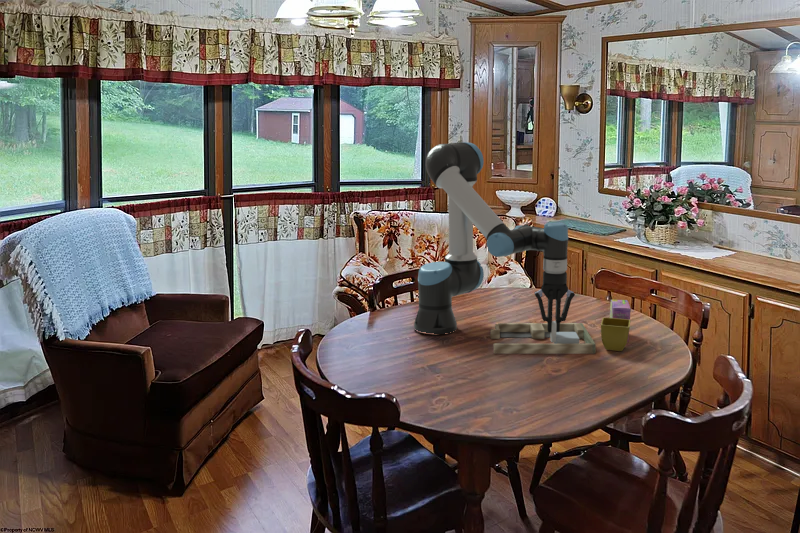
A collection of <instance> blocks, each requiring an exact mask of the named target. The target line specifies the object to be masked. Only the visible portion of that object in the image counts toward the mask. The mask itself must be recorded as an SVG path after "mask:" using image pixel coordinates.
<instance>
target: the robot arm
mask: <svg viewBox="0 0 800 533" xmlns="http://www.w3.org/2000/svg"><path fill="white" fill-rule="evenodd" d="M484 160H485V159H484V156H483V153H482V151H481V149H480V148H479V147H478V146H477V144H474V142H473V143H472V142H467V141H466V142H464V141H461V142H451V143H439V144H437V145H435V146H433V147H432V148H431V149H430V150H429V151H428V153H427V154H426V159H425V170H426V173H427V174H428V177H429V179H430V180H431V181H432V183H433V184H434V185H435V186H436V187H437V188H438V189H442V190H444V192H445V193H446V194H447V196H448V252H447V254H446V255H445V256H444V261H435V262H433V261H432V262H427V263H424V264H423V265H421V266H420V268H419V269H418V276H417V287H418V310H417V314H416V316H415V320H414V324H413V327H414V328H415V329H416V330H418V331H421V332H426V333H434V334H445V333H450V332H453V331H455V330H456V329H458V324H457V320H456V317H455V314H454V311H453V305H452V304H453V303H452V302H453V297H457V296H460V295H464V294H469V293H471V292H473V291H475V290H477V289H479V287H481V285H482V283H483V281H484V276H485V274H484V273H485V272H484V267H483V266H482V264H481V262H480V261H479V260H478V256H477V255H476V254H475V253H474V226H475V228H476V229H477V230H478V231H479V232H480V233H481V234H482V236H483V237H484V238H485V239H486V248H487V250H488V253H490V255H492V256H493V257H496V258H497V257H498V258H499V257H500V258H501V257H508V256H510V255H514V254H517V253H522V252H526V251H538V252H542V253H543V254H542V255H543V258H542V259H543V262H542V264H543V265H542V266H543V267H542V269H543V272H542V285H541V288H540V289H539V290H537V291H534V296H535V297H536V299H537V303H538V306H539V307H538V308H539V311H540V315H541V319H542V321H543V322H546V323H547V330H548V332H551V334H550V338H549V339H550V344H554V343H556V332H559V331H560V323H563V322H566V320H567V316H568V313H569V310H570V307H571V303H572V299H573V298H574V297H575V295H576V294H575V293H574V291H573V290H570V289H569V287H568V285H567V284H568V283H567V282H568V281H567V280H568V273H567V271H568V248H569V247H568V245H569V228H568V227H569V226H568V225H567V224H566V223H563V222H546V223H544V225H543V227H537V226H530V225H525V224H524V225H522V224H521V225H516V226H514V228H512V229H510V228H509V227H508V226H507V225H506V224H505V222H504V221H503V220H502V219H501V217H499V216H498V215H497V214H496V213H495V211H493V209H492V208H491V207H490V206H489V205H488V203H487V202H486V201H485V200H484V198H482V197H481V196H480V194H479V193H478V192H477V191H476V190H475V188H473V187H474V185H475V184H476V183H477V181H478V174H479V173H480V172H481V171H482V169H483V167H484V163H485V161H484ZM543 294H544V296H545V297H546V298H547V314H546V311H545V307H544V303H543V302H544V301H543V299H542V297H543ZM565 295H566V298H565V301H564V304H563V307H562V308H563V309H561V304H562V299H563V297H564V296H565ZM554 300H555V316H554V317H555V318H554V320H553V308H554V307H553V304H554ZM561 310H562V312H561ZM414 328H413V329H414ZM456 331H457V330H456ZM456 331H455V332H456ZM453 333H454V332H453ZM450 334H451V333H450Z"/></svg>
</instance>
